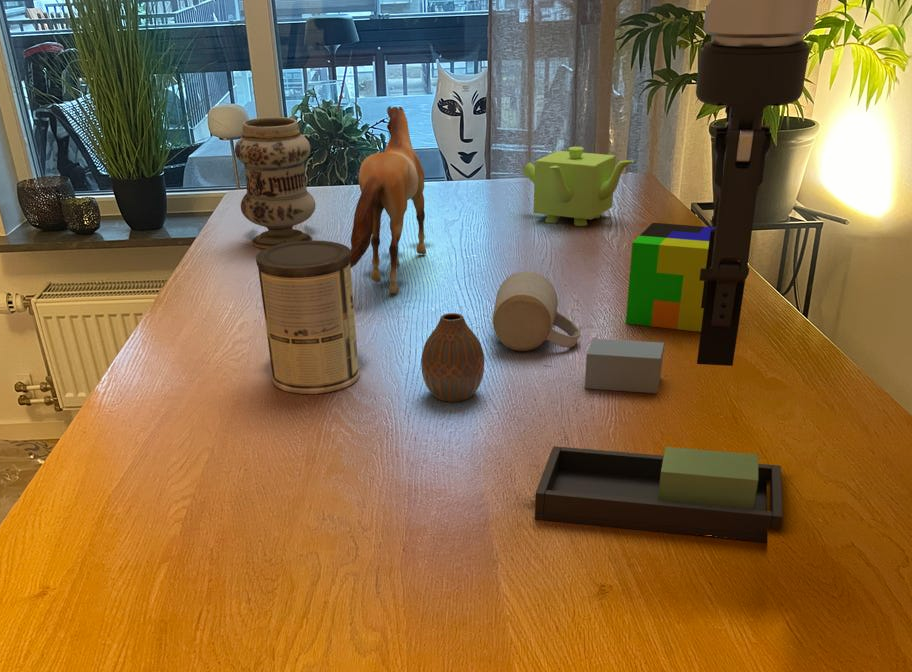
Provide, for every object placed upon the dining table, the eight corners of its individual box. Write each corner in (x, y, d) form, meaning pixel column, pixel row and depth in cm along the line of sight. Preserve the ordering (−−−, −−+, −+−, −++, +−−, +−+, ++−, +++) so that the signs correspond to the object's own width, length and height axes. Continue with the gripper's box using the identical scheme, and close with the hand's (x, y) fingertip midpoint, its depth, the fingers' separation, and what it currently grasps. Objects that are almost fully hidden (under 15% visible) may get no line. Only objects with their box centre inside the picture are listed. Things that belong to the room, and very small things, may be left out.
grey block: (660, 376, 114) (664, 342, 112) (657, 393, 110) (660, 358, 108) (590, 372, 116) (592, 338, 114) (584, 388, 112) (586, 353, 110)
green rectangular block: (751, 495, 90) (758, 454, 87) (750, 522, 86) (758, 480, 84) (660, 486, 92) (665, 446, 89) (656, 512, 88) (660, 471, 85)
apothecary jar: (300, 254, 159) (287, 129, 149) (232, 250, 162) (215, 126, 152) (330, 234, 168) (320, 115, 158) (265, 230, 172) (251, 113, 161)
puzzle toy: (719, 307, 133) (730, 228, 127) (703, 332, 126) (714, 249, 120) (645, 300, 136) (652, 222, 130) (625, 323, 129) (632, 242, 123)
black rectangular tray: (775, 491, 92) (781, 465, 90) (777, 544, 84) (782, 516, 83) (552, 470, 96) (553, 445, 95) (534, 519, 89) (535, 493, 87)
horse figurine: (396, 246, 162) (389, 102, 150) (443, 247, 160) (439, 102, 148) (337, 307, 137) (323, 142, 125) (392, 310, 136) (383, 143, 124)
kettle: (629, 225, 168) (635, 151, 161) (550, 234, 165) (553, 160, 158) (593, 205, 180) (598, 135, 173) (519, 213, 177) (520, 143, 170)
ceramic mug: (490, 353, 121) (492, 289, 117) (495, 330, 128) (497, 269, 123) (578, 357, 120) (583, 292, 116) (579, 333, 127) (584, 271, 122)
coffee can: (259, 372, 119) (242, 249, 111) (339, 355, 123) (329, 235, 114) (290, 401, 111) (274, 272, 103) (374, 383, 115) (366, 256, 107)
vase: (493, 387, 113) (494, 310, 108) (470, 411, 108) (469, 330, 103) (437, 379, 115) (435, 303, 110) (412, 402, 110) (408, 323, 105)
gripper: (705, 22, 82) (676, 286, 94) (696, 61, 62) (661, 388, 75) (801, 20, 80) (759, 289, 93) (824, 60, 61) (766, 394, 73)
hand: (715, 334), depth 84 cm, fingers open, 13 cm apart
